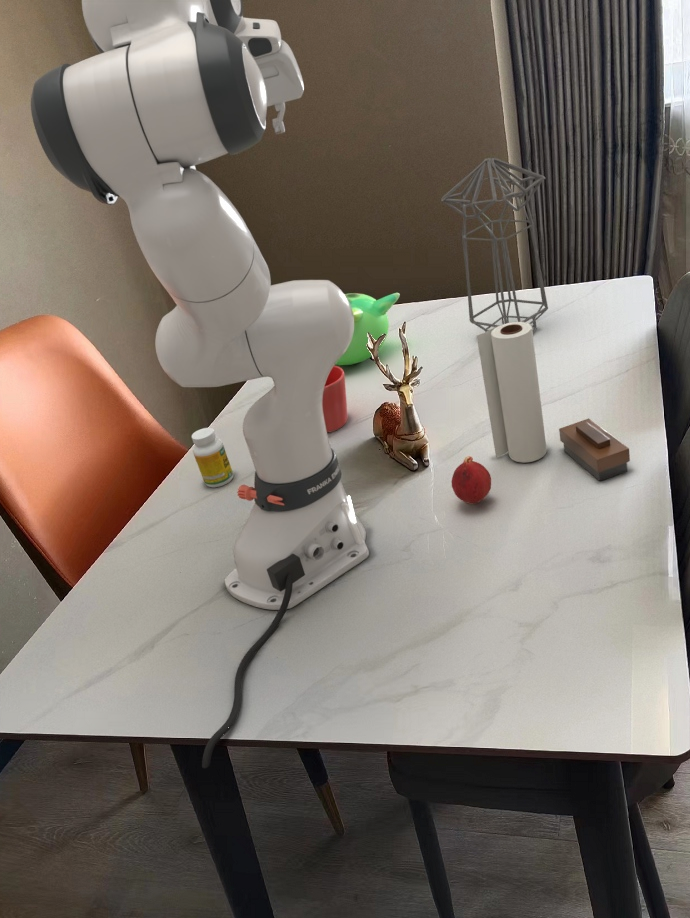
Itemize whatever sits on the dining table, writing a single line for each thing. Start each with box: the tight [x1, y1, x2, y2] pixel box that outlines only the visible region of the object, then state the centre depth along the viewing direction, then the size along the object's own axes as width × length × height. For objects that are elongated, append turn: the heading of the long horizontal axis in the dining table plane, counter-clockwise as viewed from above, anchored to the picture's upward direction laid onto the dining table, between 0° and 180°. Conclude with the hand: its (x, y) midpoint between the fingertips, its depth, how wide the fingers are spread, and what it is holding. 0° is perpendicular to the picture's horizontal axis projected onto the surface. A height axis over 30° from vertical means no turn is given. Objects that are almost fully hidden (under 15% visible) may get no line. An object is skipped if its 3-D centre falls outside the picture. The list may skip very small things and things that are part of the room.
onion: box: [451, 455, 492, 505], centre depth 127 cm, size 6×6×8 cm
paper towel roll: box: [476, 321, 548, 464], centre depth 132 cm, size 7×6×21 cm
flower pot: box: [322, 365, 348, 433], centre depth 160 cm, size 11×11×10 cm
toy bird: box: [335, 292, 401, 366], centre depth 182 cm, size 18×17×15 cm
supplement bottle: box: [191, 427, 234, 488], centre depth 150 cm, size 5×5×10 cm
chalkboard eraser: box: [558, 418, 631, 482], centre depth 131 cm, size 12×5×5 cm, turn 18°
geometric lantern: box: [440, 157, 549, 333], centre depth 170 cm, size 16×16×35 cm
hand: (251, 139), depth 132 cm, fingers open, 8 cm apart
